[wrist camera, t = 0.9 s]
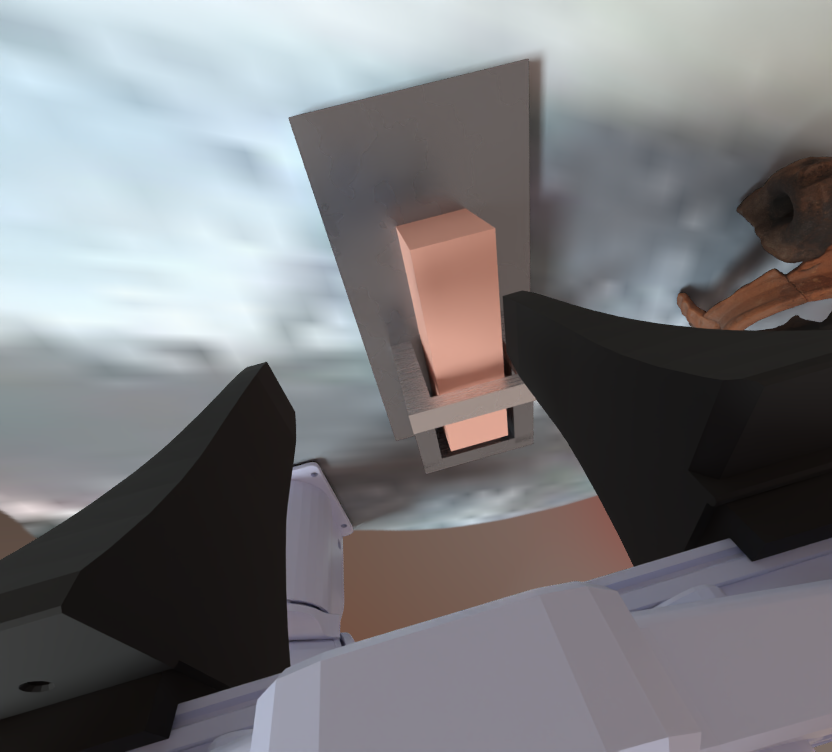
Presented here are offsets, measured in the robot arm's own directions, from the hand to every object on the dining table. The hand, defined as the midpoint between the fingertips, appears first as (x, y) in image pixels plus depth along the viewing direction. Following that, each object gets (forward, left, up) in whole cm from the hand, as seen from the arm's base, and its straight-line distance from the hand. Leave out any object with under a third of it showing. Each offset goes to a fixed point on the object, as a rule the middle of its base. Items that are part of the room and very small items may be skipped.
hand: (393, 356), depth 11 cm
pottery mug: (-5, -23, -10) cm, 26 cm away
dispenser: (-3, -3, -10) cm, 11 cm away
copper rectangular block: (-5, -3, -9) cm, 11 cm away
